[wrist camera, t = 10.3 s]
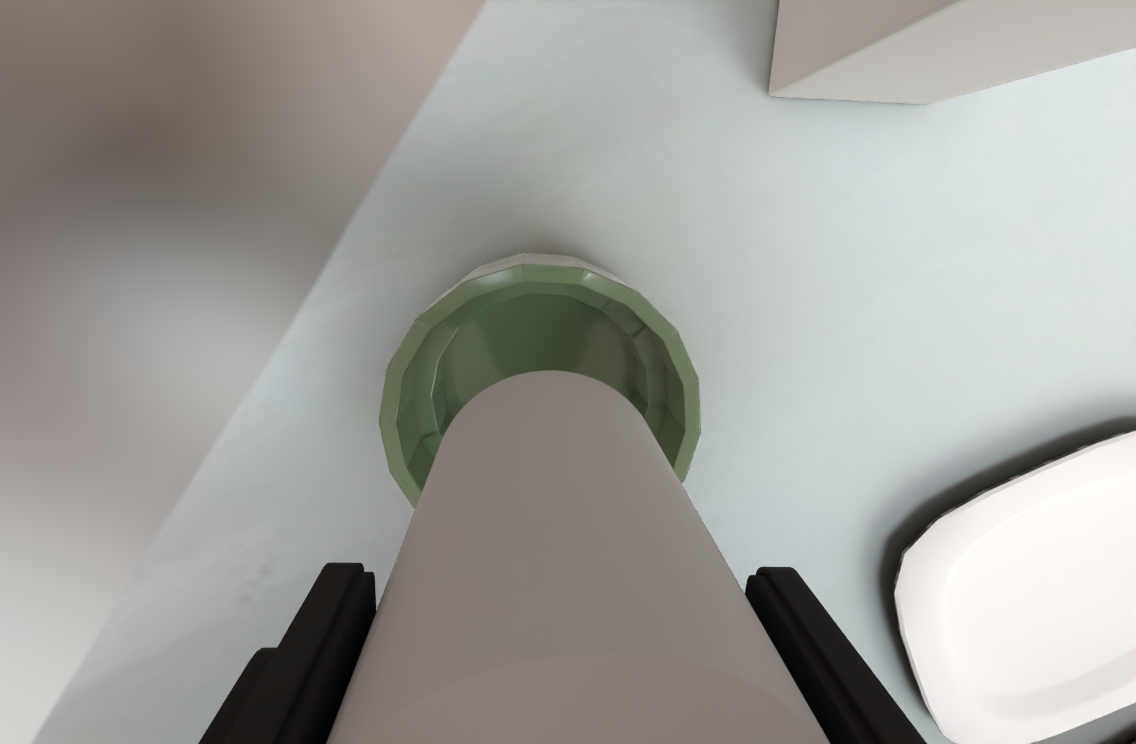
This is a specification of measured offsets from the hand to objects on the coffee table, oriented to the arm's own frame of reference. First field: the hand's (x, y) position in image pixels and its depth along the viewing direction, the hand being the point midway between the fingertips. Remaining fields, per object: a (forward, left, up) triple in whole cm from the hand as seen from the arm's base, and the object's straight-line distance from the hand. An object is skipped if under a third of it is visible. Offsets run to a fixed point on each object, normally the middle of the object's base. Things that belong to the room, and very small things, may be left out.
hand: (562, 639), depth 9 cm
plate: (+11, +29, -16) cm, 35 cm away
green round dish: (0, 0, -16) cm, 16 cm away
